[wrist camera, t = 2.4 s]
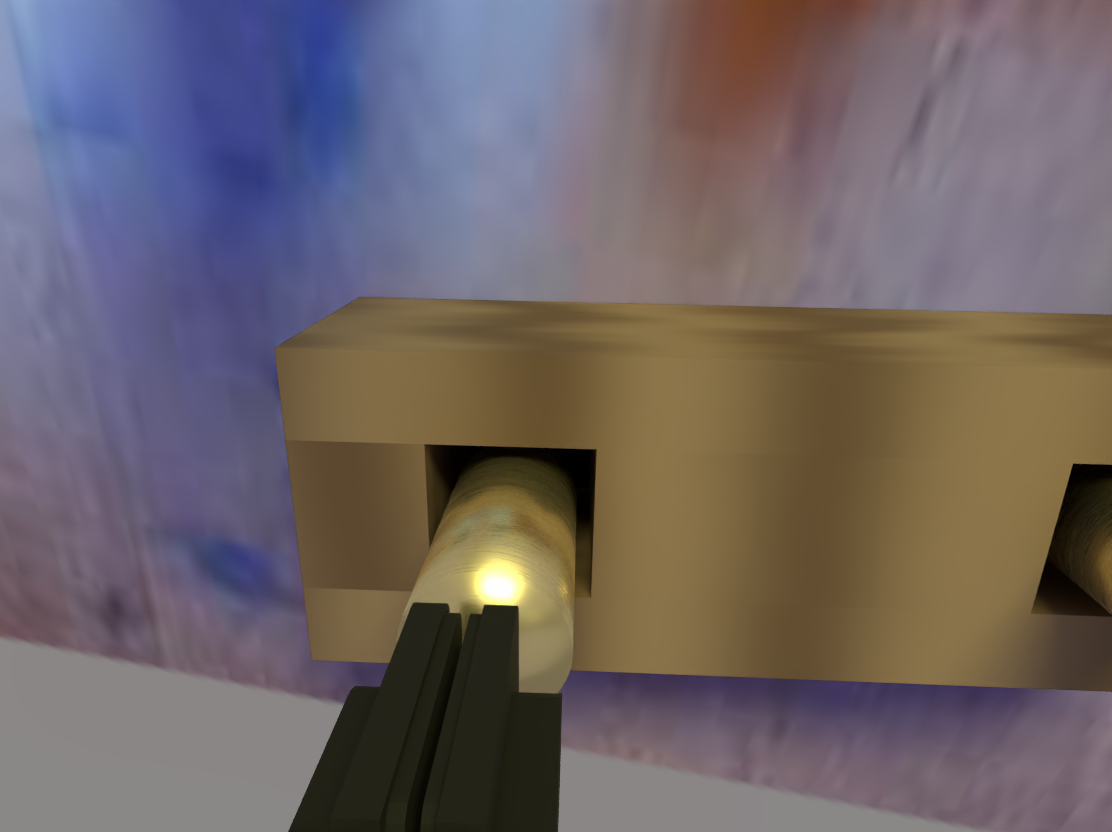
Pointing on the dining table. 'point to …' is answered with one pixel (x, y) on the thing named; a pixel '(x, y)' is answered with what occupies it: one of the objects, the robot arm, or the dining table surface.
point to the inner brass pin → (1086, 532)
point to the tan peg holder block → (722, 479)
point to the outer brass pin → (510, 555)
